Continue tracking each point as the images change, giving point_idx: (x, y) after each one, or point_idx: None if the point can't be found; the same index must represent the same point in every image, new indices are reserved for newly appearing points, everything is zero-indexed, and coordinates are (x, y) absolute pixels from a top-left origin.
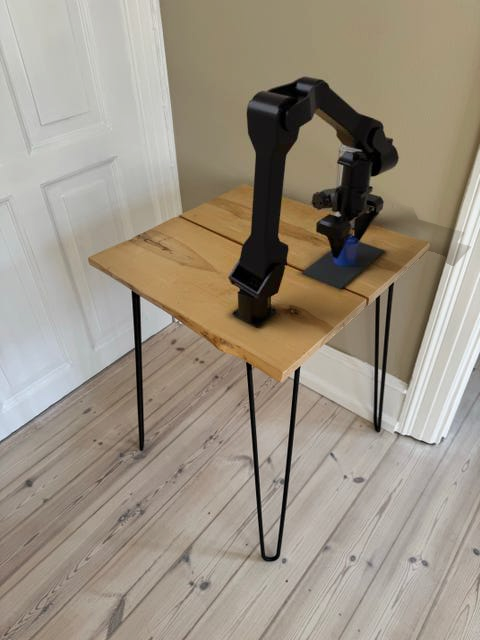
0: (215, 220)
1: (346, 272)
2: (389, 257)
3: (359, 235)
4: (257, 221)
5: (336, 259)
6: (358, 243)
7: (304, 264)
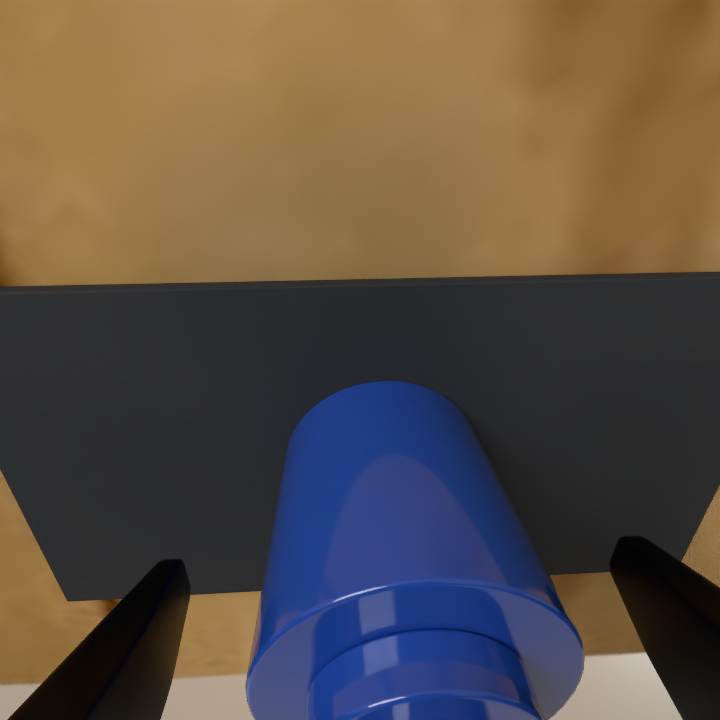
0: None
1: (248, 544)
2: (609, 593)
3: (668, 660)
4: None
5: (281, 480)
6: None
7: (84, 196)
